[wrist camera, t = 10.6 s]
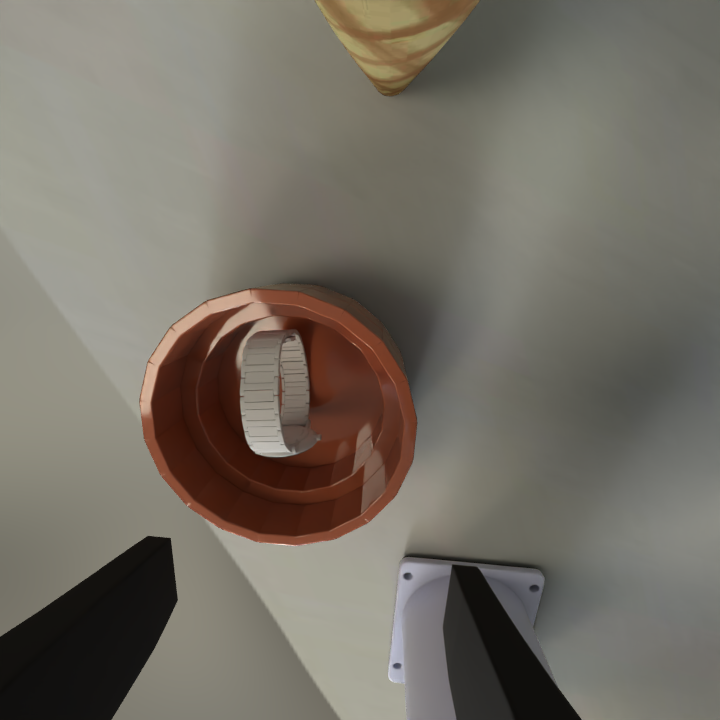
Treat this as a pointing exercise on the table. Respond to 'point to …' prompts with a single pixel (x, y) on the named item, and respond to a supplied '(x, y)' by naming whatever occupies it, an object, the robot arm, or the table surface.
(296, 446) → the wristwatch
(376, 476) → the bowl
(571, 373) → the table surface
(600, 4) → the table surface
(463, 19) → the ice cream cone
